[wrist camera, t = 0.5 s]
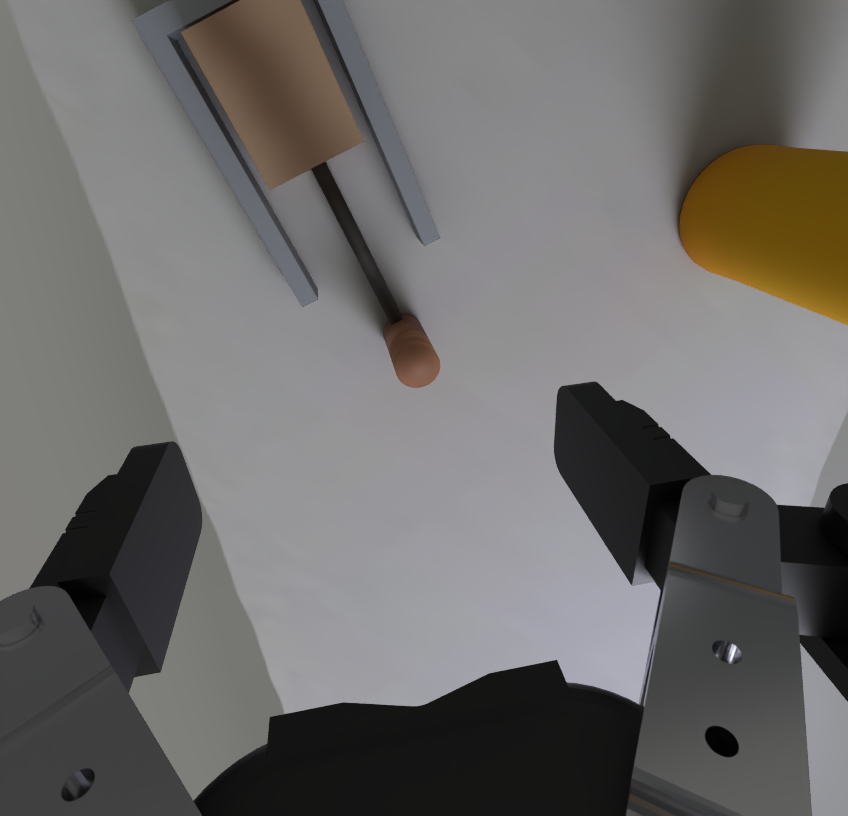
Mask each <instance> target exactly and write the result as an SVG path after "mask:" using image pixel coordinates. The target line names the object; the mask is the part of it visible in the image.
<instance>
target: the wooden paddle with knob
mask: <svg viewBox="0 0 848 816" xmlns="http://www.w3.org/2000/svg"><path fill="white" fill-rule="evenodd" d="M181 34H182V36H183V37H184V39H185V41H186V43H187V44H188V46H189V48H190V50H191V51H192V53H193V55H194V57H195V59H196V60H197V62H198V64H199V66H200V67H201V69H202V71H203V73H204V74H205V76H206V78H207V80H208V82H209V83H210V85H211V87H212V89H213V90H214V92H215V94H216V96H217V98H218V99H219V101H220V103H221V105H222V106H223V108H224V110H225V112H226V113H227V115H228V117H229V119H230V121H231V122H232V124H233V126H234V128H235V129H236V131H237V133H238V135H239V136H240V138H241V140H242V142H243V144H244V145H245V147H246V149H247V151H248V152H249V154H250V156H251V158H252V160H253V161H254V163H255V165H256V167H257V168H258V170H259V172H260V174H261V175H262V177H263V179H264V181H265V183H266V184H267V186H268V188H269V190H271V189H273V188H275V187H277V186H279V185H281V184H282V183H284V182H286V181H288V180H290V179H292V178H294V177H296V176H298V175H300V174H302V173H304V172H306V171H308V170H309V169H312V171H313V173H314V175H315V177H316V179H317V181H318V183H319V185H320V187H321V189H322V191H323V193H324V195H325V197H326V199H327V201H328V203H329V205H330V206H331V208H332V210H333V212H334V214H335V216H336V218H337V220H338V222H339V224H340V226H341V228H342V230H343V232H344V234H345V236H346V238H347V240H348V242H349V243H350V245H351V247H352V249H353V251H354V253H355V255H356V257H357V259H358V261H359V263H360V265H361V267H362V269H363V271H364V273H365V275H366V277H367V279H368V281H369V282H370V284H371V286H372V288H373V290H374V292H375V294H376V296H377V298H378V300H379V302H380V304H381V306H382V308H383V310H384V312H385V314H386V316H387V318H388V319H389V320H388V322H387V323H386V325H385V327H384V339H385V342H386V345H387V348H388V351H389V354H390V357H391V360H392V363H393V366H394V369H395V372H396V375H397V377H398V379H399V380H400V381H401V382H402V383H403V384H405V385H406V386H409V387H413V388H419V387H423V386H426V385H428V384H430V383H431V382H432V381H433V380H434V379H435V378H436V377H437V375H438V373H439V370H440V361H439V358H438V356H437V354H436V352H435V350H434V348H433V346H432V344H431V343H430V341H429V339H428V337H427V335H426V333H425V331H424V329H423V327H422V326H421V324H420V322H419V321H418V319H417V318H415V317H414V316H412V315H410V314H401V313H400V311H399V309H398V307H397V305H396V303H395V301H394V299H393V297H392V295H391V293H390V291H389V289H388V287H387V285H386V283H385V281H384V279H383V277H382V275H381V273H380V271H379V269H378V267H377V265H376V263H375V261H374V259H373V257H372V255H371V253H370V251H369V249H368V247H367V245H366V242H365V240H364V238H363V236H362V234H361V232H360V230H359V228H358V226H357V224H356V222H355V220H354V218H353V216H352V214H351V212H350V210H349V208H348V206H347V204H346V202H345V200H344V198H343V196H342V194H341V192H340V190H339V188H338V186H337V184H336V182H335V180H334V178H333V176H332V174H331V172H330V170H329V168H328V166H327V164H326V162H325V161H327V160H329V159H331V158H333V157H334V156H336V155H338V154H340V153H342V152H344V151H346V150H348V149H350V148H352V147H354V146H356V145H358V144H359V143H361V142H363V141H364V140H363V138H362V135H361V133H360V131H359V129H358V126H357V124H356V122H355V120H354V118H353V115H352V113H351V111H350V109H349V106H348V104H347V102H346V100H345V98H344V95H343V93H342V91H341V89H340V86H339V84H338V82H337V80H336V78H335V75H334V73H333V71H332V69H331V66H330V64H329V62H328V60H327V58H326V55H325V53H324V51H323V49H322V47H321V44H320V42H319V40H318V38H317V35H316V33H315V31H314V29H313V27H312V24H311V22H310V20H309V18H308V15H307V13H306V11H305V9H304V7H303V4H302V2H301V0H239V1H238V2H236V3H234V4H232V5H230V6H228V7H227V8H225V9H223V10H221V11H219V12H217V13H215V14H214V15H212V16H210V17H208V18H206V19H204V20H202V21H201V22H199V23H197V24H195V25H193V26H191V27H190V28H188V29H186V30H184V31H182V32H181Z"/></svg>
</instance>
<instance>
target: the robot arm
mask: <svg viewBox="0 0 848 816" xmlns="http://www.w3.org/2000/svg"><path fill="white" fill-rule="evenodd" d="M554 454H555V460H556V464H557V467H558V470H559V472H560V474H561V476H562V477H563V479H564V481H565V482H566V484H567V485H568V487H569V488H570V490H571V491H572V493H573V495H574V496H575V498H576V499H577V501H578V502H579V504H580V506H581V507H582V509H583V510H584V512H585V513H586V515H587V516H588V518H589V520H590V521H591V523H592V524H593V526H594V527H595V529H596V530H597V532H598V534H599V535H600V537H601V538H602V540H603V541H604V543H605V545H606V546H607V548H608V549H609V551H610V552H611V554H612V555H613V557H614V559H615V560H616V562H617V563H618V565H619V566H620V568H621V570H622V571H623V573H624V574H625V576H626V577H627V579H628V580H629V582H630V584H631V585H632V586H634V585H640V584H645V583H650V582H655V583H656V584H657V586H658V587H659V589H660V590H661V591H660V596H659V601H658V606H657V611H656V616H655V621H654V627H653V632H652V637H651V642H650V648H649V653H648V658H647V664H646V669H645V674H644V679H643V684H642V689H641V694H640V699H639V704H637V703H635V702H633V701H631V700H629V699H627V698H625V697H623V696H620V695H618V694H615V693H613V692H610V691H607V690H604V689H600V688H597V687H593V686H588V685H583V684H577V683H566V681H565V678H564V676H563V673H562V671H561V669H560V666H559V664H558V661H557V660H554V661H549V662H544V663H539V664H534V665H529V666H524V667H519V668H514V669H509V670H504V671H499V672H494V673H489V674H487V675H485V676H483V677H481V678H479V679H477V680H475V681H473V682H471V683H469V684H467V685H465V686H463V687H461V688H458V689H456V690H454V691H452V692H450V693H448V694H446V695H444V696H442V697H440V698H438V699H436V700H434V701H432V702H430V703H428V704H425V705H422V706H395V705H377V704H360V703H339V704H334V705H329V706H324V707H319V708H314V709H309V710H304V711H299V712H294V713H289V714H284V715H278V716H273V717H270V721H269V732H268V744H266V745H264V746H261V747H259V748H257V749H256V750H254V751H253V752H251V753H249V754H247V755H246V756H244V757H243V758H241V759H239V760H238V761H237V762H235V763H234V764H233V765H231V766H230V767H229V768H228V769H226V770H225V771H224V772H223V773H221V774H220V775H219V776H218V777H217V778H216V779H215V780H214V781H212V782H211V783H210V784H209V785H208V786H207V787H206V788H205V789H204V790H203V791H202V792H201V793H200V794H199V795H198V797H197V798H196V799H195V800H194V801H193V800H192V798H191V796H190V795H189V793H188V792H187V790H186V788H185V786H184V785H183V783H182V782H181V780H180V778H179V776H178V775H177V773H176V772H175V770H174V768H173V767H172V765H171V763H170V762H169V760H168V758H167V757H166V755H165V753H164V752H163V750H162V748H161V747H160V745H159V743H158V742H157V740H156V738H155V737H154V735H153V733H152V732H151V730H150V728H149V727H148V725H147V724H146V722H145V720H144V718H143V717H142V715H141V713H140V712H139V710H138V708H137V707H136V705H135V703H134V702H133V700H132V699H131V697H130V695H129V691H130V688H131V685H132V681H133V678H134V677H138V676H143V675H148V674H153V673H159V672H161V669H162V665H163V662H164V658H165V654H166V651H167V648H168V645H169V641H170V637H171V634H172V631H173V627H174V623H175V620H176V617H177V613H178V610H179V606H180V603H181V599H182V596H183V592H184V589H185V585H186V582H187V578H188V575H189V571H190V568H191V564H192V561H193V557H194V554H195V550H196V547H197V543H198V540H199V537H200V533H201V528H202V512H201V506H200V502H199V499H198V496H197V493H196V490H195V488H194V485H193V482H192V479H191V477H190V474H189V471H188V468H187V466H186V463H185V460H184V457H183V455H182V452H181V450H180V448H179V446H178V445H177V443H175V442H165V443H158V444H151V445H144V446H137V447H133V448H132V449H131V451H130V453H129V454H128V456H127V458H126V460H125V461H124V464H123V465H122V467H121V468H120V470H119V472H118V474H115V475H108V476H107V477H106V478H105V479H104V480H102V481H101V482H100V483H99V484H98V485H97V486H95V487H94V488H93V489H92V490H91V491H90V492H88V493H87V495H86V496H85V498H84V500H83V501H82V503H81V505H80V506H79V508H78V509H77V511H76V513H75V514H76V516H75V517H73V518H72V519H71V521H70V523H69V524H68V526H67V528H66V533H63V534H62V536H61V537H60V539H59V541H58V542H57V544H56V546H55V547H54V549H53V551H52V552H51V554H50V555H49V557H48V559H47V561H46V562H45V564H44V565H43V567H42V569H41V570H40V572H39V574H38V575H37V577H36V579H35V580H34V582H33V584H32V585H31V587H30V588H29V589H27V590H24V591H21V592H18V593H16V594H13V595H11V596H9V597H7V598H5V599H3V600H1V601H0V816H812V810H811V794H810V780H809V767H808V751H807V737H806V724H805V709H804V694H803V680H802V666H801V651H800V643H801V645H802V646H803V647H804V648H805V650H806V651H807V652H808V653H809V654H810V656H811V657H812V658H813V659H814V661H815V662H816V663H817V664H818V665H819V667H820V668H821V669H822V670H823V672H824V673H825V674H826V675H827V677H828V678H829V679H830V680H831V682H832V683H833V684H834V685H835V686H836V688H837V689H838V690H839V692H840V693H841V694H842V695H843V696H844V698H845V699H846V700H847V701H848V483H847V484H842V485H840V486H837V487H836V488H834V489H833V491H832V492H831V493H830V496H829V498H828V501H827V503H826V506H825V508H819V507H803V506H786V505H776V503H775V502H774V500H773V499H772V498H771V497H770V496H769V495H768V494H767V493H766V492H764V491H763V490H762V489H760V488H758V487H757V486H755V485H753V484H751V483H748V482H746V481H743V480H740V479H737V478H733V477H728V476H722V475H711V474H710V473H709V472H708V471H707V470H706V469H705V468H704V467H703V466H701V465H700V464H699V463H698V462H697V461H696V460H695V459H694V458H693V457H692V456H691V455H690V454H689V453H688V452H687V451H686V450H685V449H684V448H683V447H682V446H681V445H680V444H678V443H677V442H676V441H675V440H674V439H671V438H670V435H669V434H668V433H667V432H666V431H665V430H664V429H663V428H662V427H659V426H658V423H657V422H655V421H654V420H653V419H652V418H651V417H650V416H649V415H648V414H647V413H646V412H645V411H644V410H642V409H640V408H638V407H636V406H634V405H632V404H630V403H628V402H625V401H623V400H620V401H615V400H614V399H613V398H612V397H611V396H610V395H609V394H608V393H607V391H606V390H605V389H604V388H603V387H602V386H601V385H600V384H598V383H597V382H588V383H581V384H574V385H567V386H562V387H560V388H559V390H558V394H557V405H556V422H555V438H554Z"/></svg>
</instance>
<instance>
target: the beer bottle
mask: <svg viewBox="0 0 848 816" xmlns="http://www.w3.org/2000/svg"><path fill="white" fill-rule="evenodd" d="M679 229H680V237H681V241H682V245H683V247H684V249H685V251H686V253H687V254H688V256H689V257H690V258H691V259H692V260H693V261H694V262H695V263H696V264H698V265H699V266H701V267H702V268H704V269H706V270H707V271H709V272H712V273H715V274H718V275H721V276H724V277H727V278H730V279H732V280H735V281H738V282H740V283H743V284H745V285H748V286H750V287H753V288H755V289H758V290H760V291H763V292H765V293H768V294H770V295H773V296H775V297H778V298H780V299H783V300H785V301H788V302H791V303H793V304H796V305H798V306H801V307H803V308H806V309H808V310H811V311H813V312H816V313H818V314H821V315H823V316H826V317H828V318H831V319H833V320H836V321H838V322H841V323H843V324H846V325H848V152H843V151H830V150H817V149H804V148H793V147H785V146H778V145H769V144H763V145H750V146H745V147H741V148H738V149H734V150H732V151H730V152H728V153H726V154H724V155H722V156H720V157H719V158H717V159H716V160H715V161H713V162H712V163H711V164H710V165H708V166H707V167H706V168H705V169H704V170H703V171H702V172H701V174H700V175H699V176H698V177H697V179H696V180H695V181H694V183H693V185H692V186H691V188H690V190H689V191H688V193H687V196H686V198H685V200H684V203H683V206H682V210H681V214H680V223H679Z"/></svg>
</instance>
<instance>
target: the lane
mask: <svg viewBox="0 0 848 816" xmlns="http://www.w3.org/2000/svg"><path fill="white" fill-rule="evenodd" d="M238 1H239V0H168V1H166V2H164V3H162V4H161V5H159V6H157V7H155V8H153V9H151V10H149V11H148V12H146V13H144V14H142V15H140V16H138V17H136V18H135V19H133V20H131V21H132V22H133V24H134V26H135V27H136V29H137V31H138V32H139V34H140V36H141V37H142V39H143V41H144V42H145V44H146V46H147V47H148V49H149V51H150V53H151V54H152V56H153V58H154V59H155V61H156V63H157V64H158V66H159V68H160V69H161V71H162V73H163V74H164V76H165V78H166V79H167V81H168V83H169V84H170V86H171V88H172V89H173V91H174V93H175V94H176V96H177V98H178V99H179V101H180V103H181V104H182V106H183V108H184V110H185V111H186V113H187V115H188V116H189V118H190V120H191V121H192V123H193V125H194V126H195V128H196V130H197V131H198V133H199V135H200V136H201V138H202V140H203V141H204V143H205V145H206V146H207V148H208V150H209V151H210V153H211V155H212V156H213V158H214V160H215V161H216V163H217V165H218V167H219V168H220V170H221V172H222V173H223V175H224V177H225V178H226V180H227V182H228V183H229V185H230V187H231V188H232V190H233V192H234V193H235V195H236V197H237V198H238V200H239V202H240V203H241V205H242V207H243V208H244V210H245V212H246V213H247V215H248V217H249V218H250V220H251V222H252V224H253V225H254V227H255V229H256V230H257V232H258V234H259V235H260V237H261V239H262V240H263V242H264V244H265V245H266V247H267V249H268V250H269V252H270V254H271V255H272V257H273V259H274V260H275V262H276V264H277V265H278V267H279V269H280V270H281V272H282V274H283V275H284V277H285V279H286V281H287V282H288V284H289V286H290V287H291V289H292V291H293V292H294V294H295V296H296V297H297V299H298V301H299V302H300V304H301V306H302V307H304V306H306V305H308V304H310V303H312V302H314V301H316V300H318V289H317V287H316V285H315V283H314V282H313V280H312V278H311V276H310V275H309V273H308V271H307V269H306V268H305V266H304V264H303V262H302V261H301V259H300V257H299V255H298V253H297V252H296V250H295V248H294V246H293V245H292V243H291V241H290V239H289V238H288V236H287V234H286V232H285V231H284V229H283V227H282V225H281V224H280V222H279V220H278V218H277V217H276V215H275V213H274V211H273V209H272V208H271V206H270V204H269V202H268V201H267V199H266V197H265V195H264V194H263V192H262V190H261V188H260V187H259V185H258V183H257V181H256V180H255V178H254V176H253V174H252V173H251V171H250V169H249V167H248V165H247V164H246V162H245V160H244V158H243V157H242V155H241V153H240V151H239V150H238V148H237V146H236V144H235V143H234V141H233V139H232V137H231V136H230V134H229V132H228V130H227V129H226V127H225V125H224V123H223V121H222V120H221V118H220V116H219V114H218V113H217V111H216V109H215V107H214V106H213V104H212V102H211V100H210V99H209V97H208V95H207V93H206V92H205V90H204V88H203V86H202V85H201V83H200V81H199V79H198V77H197V76H196V74H195V72H194V70H193V69H192V67H191V65H190V63H189V62H188V60H187V58H186V56H185V55H184V53H183V51H182V49H181V48H180V46H179V44H178V42H177V40H179V39H181V38H183V36H182V34H181V32H182V31H184V30H186V29H188V28H190V27H191V26H193V25H195V24H197V23H199V22H201V21H202V20H204V19H206V18H208V17H210V16H212V15H214V14H215V13H217V12H219V11H221V10H223V9H225V8H227V7H228V6H230V5H232V4H234V3H236V2H238ZM314 2H315V4H316V6H317V9H318V11H319V13H320V15H321V18H322V20H323V22H324V25H325V27H326V29H327V32H328V34H329V36H330V38H331V41H332V43H333V45H334V48H335V50H336V52H337V55H338V57H339V59H340V61H341V64H342V66H343V68H344V71H345V73H346V75H347V77H348V80H349V82H350V84H351V87H352V89H353V91H354V94H355V96H356V98H357V100H358V103H359V105H360V107H361V110H362V112H363V114H364V116H365V119H366V121H367V123H368V126H369V128H370V130H371V133H372V135H373V137H374V139H375V142H376V144H377V146H378V149H379V151H380V153H381V155H382V158H383V160H384V162H385V165H386V167H387V169H388V172H389V174H390V176H391V178H392V181H393V183H394V185H395V188H396V190H397V192H398V195H399V197H400V199H401V201H402V204H403V206H404V208H405V211H406V213H407V215H408V217H409V220H410V222H411V224H412V227H413V229H414V231H415V234H416V236H417V238H418V239H419V241H420V242H421V243H422V244H423V245H424V246H426V245H428V244H430V243H432V242H434V241H436V240H438V239H440V236H439V234H438V231H437V229H436V226H435V224H434V221H433V219H432V217H431V214H430V212H429V209H428V207H427V204H426V202H425V200H424V197H423V195H422V192H421V190H420V187H419V185H418V183H417V180H416V178H415V175H414V173H413V171H412V168H411V166H410V163H409V161H408V158H407V156H406V154H405V151H404V149H403V146H402V144H401V141H400V139H399V137H398V134H397V132H396V129H395V127H394V124H393V122H392V120H391V117H390V115H389V112H388V110H387V107H386V105H385V103H384V100H383V98H382V95H381V93H380V90H379V88H378V86H377V83H376V81H375V78H374V76H373V73H372V71H371V69H370V66H369V64H368V61H367V59H366V56H365V54H364V52H363V49H362V47H361V44H360V42H359V40H358V37H357V35H356V32H355V30H354V27H353V25H352V23H351V20H350V18H349V15H348V13H347V10H346V8H345V6H344V3H343V1H342V0H314Z"/></svg>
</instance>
